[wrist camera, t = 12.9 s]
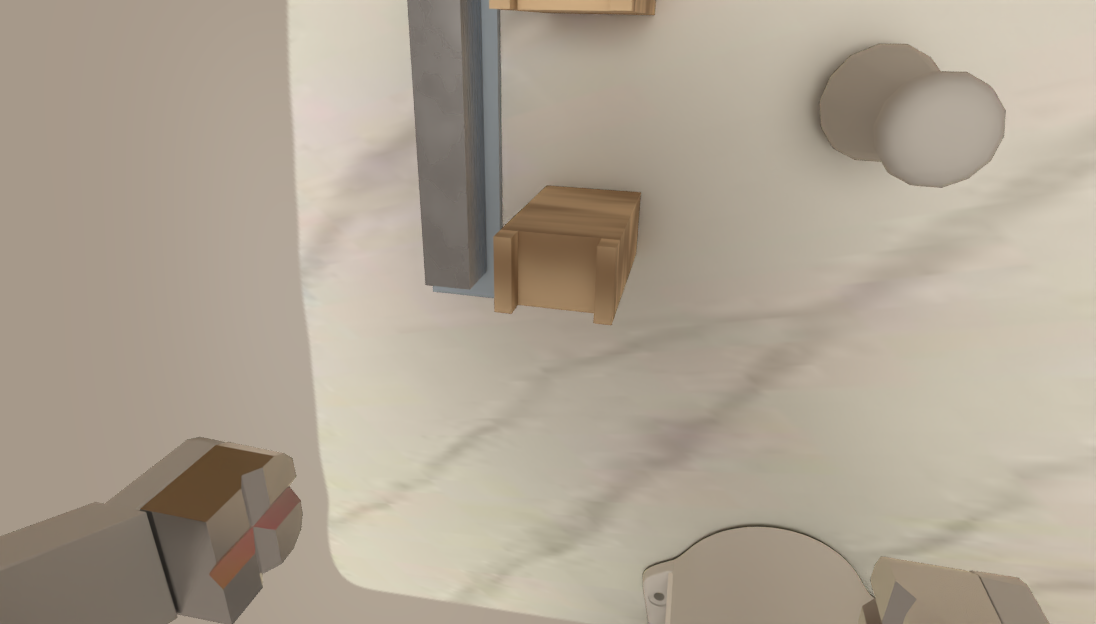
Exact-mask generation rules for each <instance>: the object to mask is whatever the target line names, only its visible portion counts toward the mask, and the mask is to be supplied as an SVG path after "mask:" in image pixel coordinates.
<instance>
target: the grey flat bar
mask: <svg viewBox="0 0 1096 624" xmlns="http://www.w3.org/2000/svg"><path fill="white" fill-rule="evenodd" d="M481 17H482V62H483V107H484V152H485V197H486V242H487V272H486V273H485V274H484V275H483V276H482V277H481V278H480V279H479V280H478V282H477V283H476V284H475V285H474V286H473V287H472V288H471V289H470V290H467V289H458V288H449V287H440V286H433V292H442V293H451V294H460V295H469V296H479V297H488V298H494V250H493V236H494V235H495V234H496V233H497V232H499V231H500V230H501V229H502V168H501V80H500V9H489V0H481Z"/></svg>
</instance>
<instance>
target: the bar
mask: <svg viewBox="0 0 1096 624" xmlns="http://www.w3.org/2000/svg"><path fill="white" fill-rule="evenodd" d="M407 2H408V18H409V34H410V49H411V65H412V80H413V96H414V112H415V127H416V143H417V158H418V174H419V190H420V205H421V221H422V236H423V252H424V267H425V283H426V285H430V286H440V287H449V288H458V289H467V290H470V289H471V288H472V287H473V286H474V285H475V284H476V283H477V282H478V280H479V279H480V278H481V277H482V276H483V275H484V274H485V273H486V272H487V242H486V197H485V152H484V107H483V62H482V17H481V0H407Z"/></svg>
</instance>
